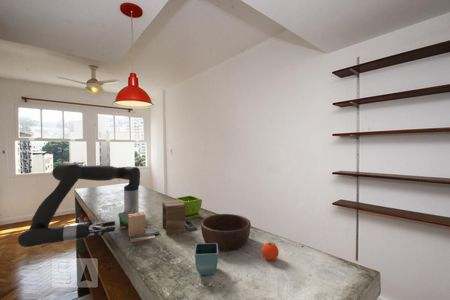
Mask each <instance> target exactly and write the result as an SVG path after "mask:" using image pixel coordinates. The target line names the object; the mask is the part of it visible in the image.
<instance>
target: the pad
mask: <svg viewBox="0 0 450 300" xmlns="http://www.w3.org/2000/svg"><path fill="white" fill-rule="evenodd" d="M155 235H156V234H154V235H148V236H143V237H137V238H131V236H129V242H130V243H135V242H140V241H146V240H151V239H156V236H155Z"/></svg>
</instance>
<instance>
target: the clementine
mask: <svg viewBox="0 0 450 300" xmlns="http://www.w3.org/2000/svg"><path fill="white" fill-rule="evenodd" d="M279 251H280V250H279V248H278V246H277V245H276V242H274V241H270V242H266V243H264V244H263V246H262V250H261V252H262V253H261V254H262V255H263V257H264V258H265V259H266V260H268V261H275V260H276V259H277V258H278V256H279V253H280V252H279Z"/></svg>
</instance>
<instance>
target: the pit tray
mask: <svg viewBox="0 0 450 300" xmlns="http://www.w3.org/2000/svg"><path fill="white" fill-rule="evenodd" d="M197 227H198V226H197V225H196V224H195V223H194V222H193V221H192V220H191V219H188V220H185V230H186V231H188V232H190V231H196V230H197Z"/></svg>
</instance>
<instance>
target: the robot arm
mask: <svg viewBox="0 0 450 300" xmlns="http://www.w3.org/2000/svg"><path fill="white" fill-rule="evenodd" d="M51 172H52V173H51V174H52V176H53V178H54V179H55V180H56V181H59V182H58V184H57V186H56V188H54V190H53V191H52V192H51V193H50V194H49V195H48V196H47V197H45V199H44V200H42V202H41V203H40V205H39V206H38V208H37V209H36V211H35V213H34V215H33V216H32V219H31V222H32V223H31V225H30V227H29V228H28V229H27V230H24V231H23V232H21V234H20V235H19V236H18V238H17V243H18V245H19V246H21V247H24V248H32V247H36V246H38V245H39V246H40V245H45V244H54V243H62V242H71V241H78V240H83V239H88V238H93V237H94V238H95V237H99V236H100V237H101V236H105V234H106V233H112V232H115V231H116V226H115V225H116V221H115V220H112V221H106V220H99V221H94V222H92V224H89V221H84V222H77V223H76V222H75V223H70V224H66V225H59V226H57V225H56V226H53V227H49V226H50V224H51V222H52V220H53V219H54V216H55V215H56V213H57V211H58V209H59V207H60V205H61V203H62V202H63V201H64V199H65V198H66V197H67V195H68V194H69V192H70V191H71V190H72V188H74V186H75V184H76V183H77V182H78V181H79V180H85V181H87V180H88V181H98V182H99V181H101V182H102V181H111V180H114V179H117V180H118V179H119V180H127V181H128V184H126V185H124V187H123V203H124V204H123V212H124V211H126V210H130V209H131V207H134V208H136V211H137V213H140V212H139V207H140V205H139V201H140V200H139V198H140V197H139V196H140V195H139V187H140V183H141V182H140V181H141V171H140V169H139V167H137V166H123V167H122V166H120V167H116V166H114V165H113V166H112V165H107V164H105V165H103V164H100V165H99V164H97V165H96V164H95V165H94V164H93V165H91V164H90V165H78V164H77V163H67V162H65V163H60V164H58V165H56V166H54V168H53V169H52V171H51Z"/></svg>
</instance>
